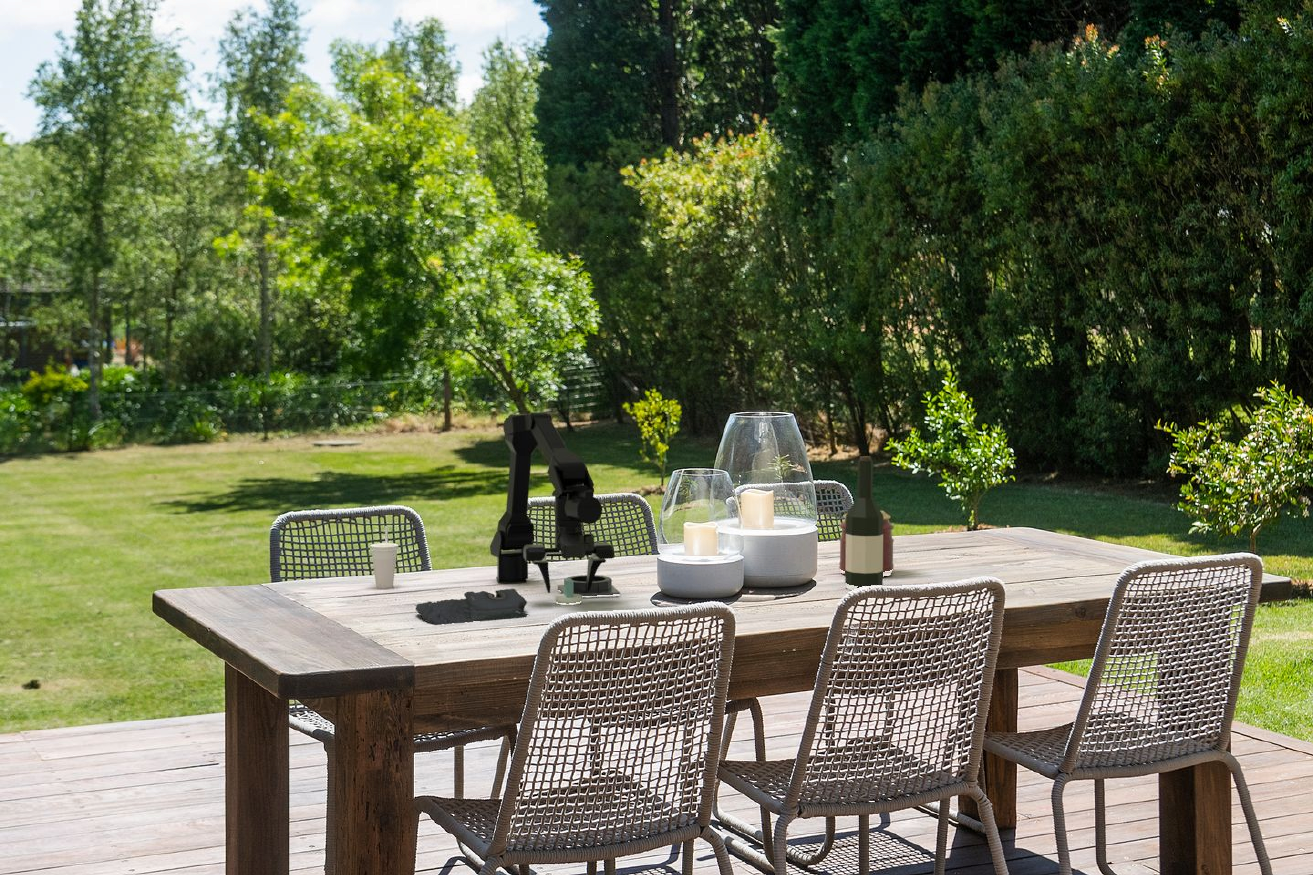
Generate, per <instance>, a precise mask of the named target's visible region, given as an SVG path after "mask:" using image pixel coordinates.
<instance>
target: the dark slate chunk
mask: <svg viewBox="0 0 1313 875" xmlns="http://www.w3.org/2000/svg"><path fill="white" fill-rule="evenodd" d="M463 595H464V597H465V598H460V599H456V598H455V599H453V598H451V599H444V600H440V601H439V600H437V601H435V602H433V601H427V602H423V603H417V604H416V607H415V611H416V612H417V613H418V614H419V616H421V617H422V619H424V621H426V622H427V623H428V624H431V625H435V626H442V624H444V625H452V623H454V624H464V623H465V622H467V623H474V622H473V621H480V622H489V621H491V622H492V621H499V620H511V619H512V620H513V619H522V618H524V617H525V618H527V615H529V614H528V613H526V612H525V607H526V605H527V604H528V601H527V600H526V598H524V596H522V595H521V594H519V592H518V591H517V589H516V588H506V589H498V590H495V594H494V593H491V592H488V591H485V590H481V591H477V592H474V591H466V592H465V593H464V594H463ZM465 624H466V623H465Z"/></svg>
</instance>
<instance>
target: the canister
mask: <svg viewBox="0 0 1313 875" xmlns="http://www.w3.org/2000/svg"><path fill="white" fill-rule="evenodd" d="M880 511H881V513H882V514H883V572H885V571H890V570H892V569H893V570H894V566H895V565H894V541H895V540H894V538H893V533H892V532H893V530H894V528H895V525H893V524H892V523H891V522H890V520H889V519H891V515H890V514H887V512H885V511H884V510H881V509H880ZM846 515H847V513H845V514H843V518H844V521H843V522H841V523H840V524H839V528H840V529H841V536H840V537H839V543H840V544H839V547H840V548H839V567H838V568H839V570H840V569H841V570H843V571H846Z"/></svg>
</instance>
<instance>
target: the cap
mask: <svg viewBox="0 0 1313 875" xmlns="http://www.w3.org/2000/svg"><path fill="white" fill-rule="evenodd" d="M563 585H564V594H561V593H560V594H556V595H555V600H554V601H556V602H558V603H566V604H569V603H576V602H580V601H582V602H583V598H582V595H579V594H573V581H572V580H571V578H569V579H565V578H563Z"/></svg>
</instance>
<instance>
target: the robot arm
mask: <svg viewBox="0 0 1313 875" xmlns="http://www.w3.org/2000/svg"><path fill="white" fill-rule="evenodd" d="M552 420H553V419H552V415H551V414H550V413H549V412H548V413H547V412H546V411H545V412H543V411H540V412H539V411H538V412H534V411H533V412H529V413H516V414H509V415H508V417H505V420H503V427H502V428H503V432H504V440H505V443H506V445H507V447H508V448H509V450H510V455H509V457H510V458H509V470H508V480H507V481H508V482H507V483H508V484H507V497H506V508H505V509H506V510H505V512H504V514H503V515H502V516H501V517H500V519H499V520H498V523H497V529H496V532H495V534H494V536H493V539H492V540H491V542H490V545H489V552H490V555H491V556H493V557H496V558H497V559H496V560H497V561H496V562H497V563H496V564H497V566H496V567H497V576H496V578H495V579H496V581H497V582H498V584H516V583H518V584H519V583H527V582H528V581H527V580H528V578H529V562H531V563H532V564H533V565H536V566H537V567H538V569H539V572H540V574H541V577H542V579H543V581H544V584H545V589H546V590H547V591H546V592H547V593H548V594H550V593H551V580H550V572H549V562H548V560H547V558H549V557H561V558H563V559H566V560H568V559H571V558H572V559H573V558H574V559H576V558H578V559H584V558H585V557H586V556H587V557H588V559H587V572H586V575H587V591H588V592H589V591H590V588H591V585H592V582H593V579H594V576H595V575H596V573H597V571H598V569H599V567H600V566H601V565H602V564H604V563H605V564H606V562H607V560H608V559H614V558H615V548H614V547H613V545H612V544H610V543H609V542H608V541H607V542H604V541H603V542H595V535H594V533H585V534H584V533H583V524H586V525H591V524H595V523H597V522H598V521H599V520H600V518H601V516H602V514H603V506H602V503H601V502H600V500H599V499H598V498H597V497H594V493H595V487H594V485H595V484H594V481H593V479H592V477H591V475H590V471H589V470H588V467H587V466H586V464H585V461H584V460H583V459H582V458H581V457H580V456H579V455H578V454H576V453H575V452H573V451H570V450H569V449H568V448H567V447H568V446H566V443H565V442H564V441H563V439H562V437H561V435H560V434H559V432H558V430H557V429H556V427H555V425H554V423H553V422H552ZM538 446H539V448H540V450H541V451H542V454H543V455H544V457H545V459H546V461H547V462H548V465H549V466H548V469H547V475H548V479H549V481H550V483H551V485H552V487H553V489H554V490H553V491H552V492H551V496H552V497H555V498H554V547H545V546H544V545H543V544H542V543H541V544H540V543H539V544H535V532H534V531H535V524H534V523H533V522H532V521H531V519H530V517H529V515H528V504H529V494H530V493H529V492H530V491H529V490H530V481H531V467H532V458H533V456H532V455H533V453H534V452H535V450H536V449H537V448H538Z"/></svg>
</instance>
